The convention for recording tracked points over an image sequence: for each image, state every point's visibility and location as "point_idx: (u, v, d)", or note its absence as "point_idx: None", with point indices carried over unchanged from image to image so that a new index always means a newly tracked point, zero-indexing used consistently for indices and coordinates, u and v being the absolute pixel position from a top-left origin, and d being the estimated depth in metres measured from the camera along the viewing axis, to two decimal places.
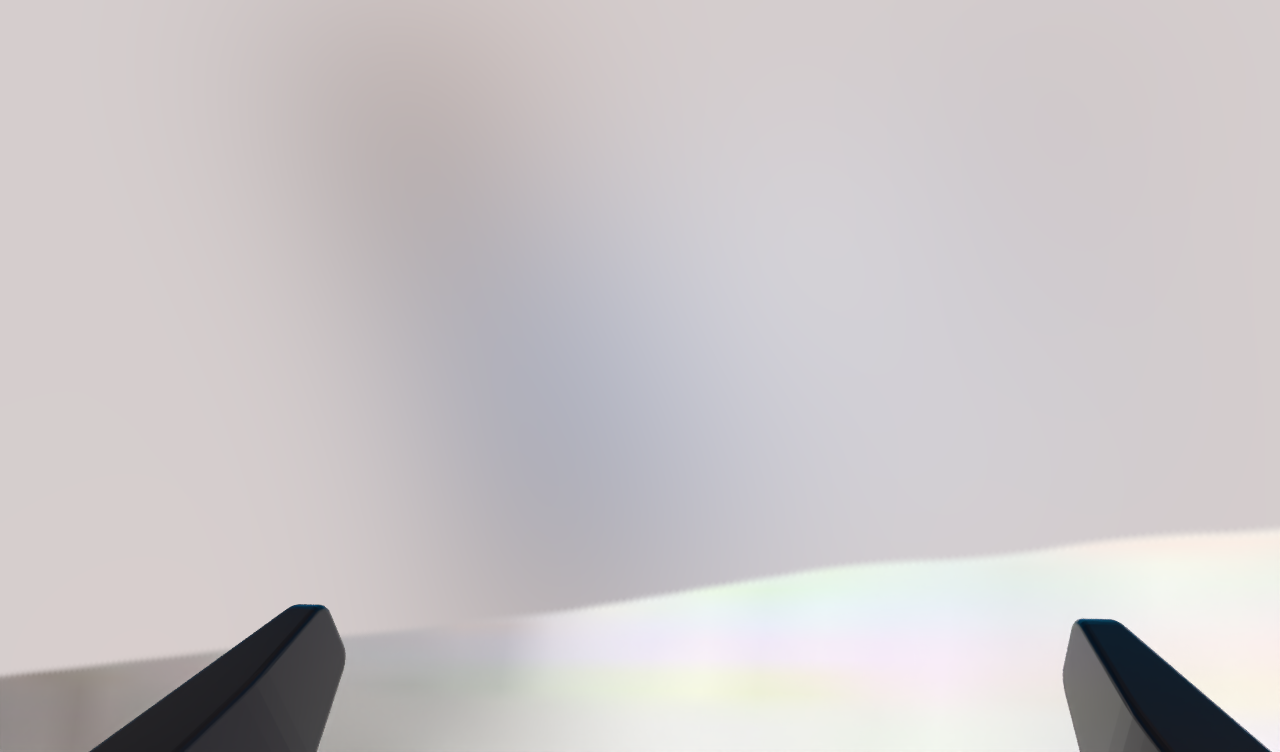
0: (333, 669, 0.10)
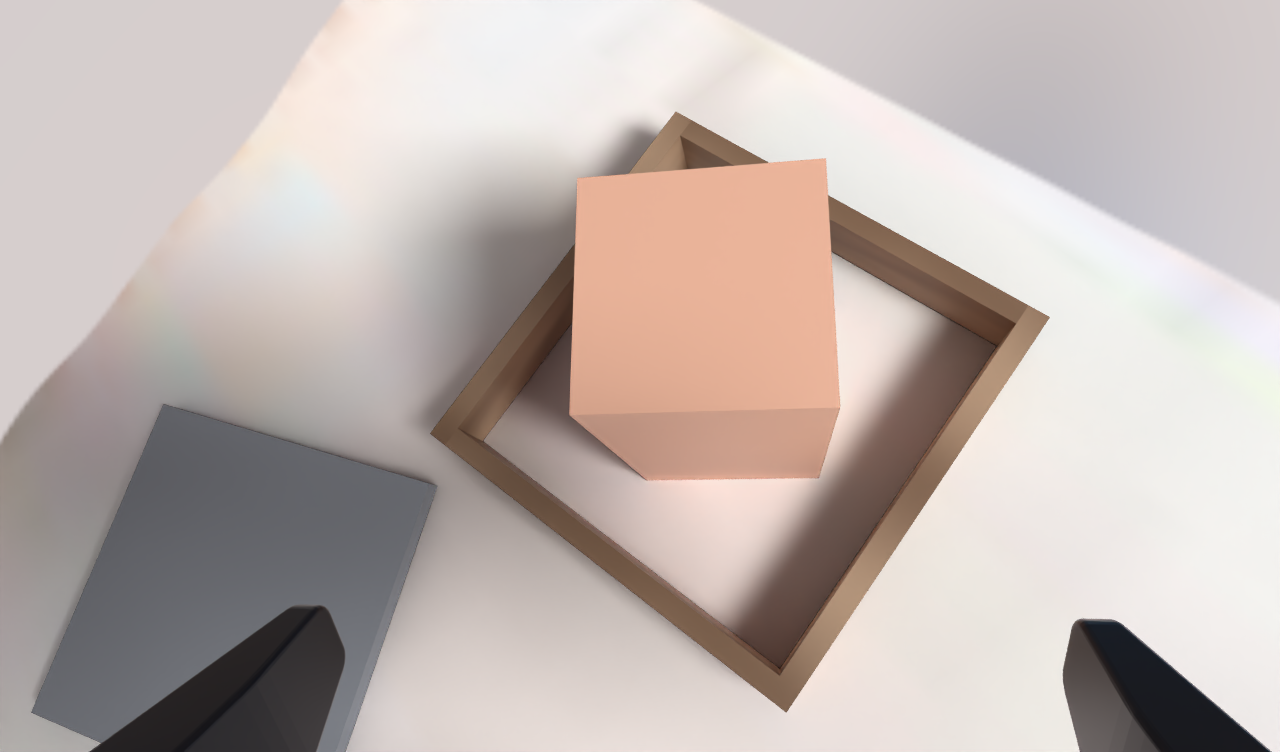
0: (333, 669, 0.10)
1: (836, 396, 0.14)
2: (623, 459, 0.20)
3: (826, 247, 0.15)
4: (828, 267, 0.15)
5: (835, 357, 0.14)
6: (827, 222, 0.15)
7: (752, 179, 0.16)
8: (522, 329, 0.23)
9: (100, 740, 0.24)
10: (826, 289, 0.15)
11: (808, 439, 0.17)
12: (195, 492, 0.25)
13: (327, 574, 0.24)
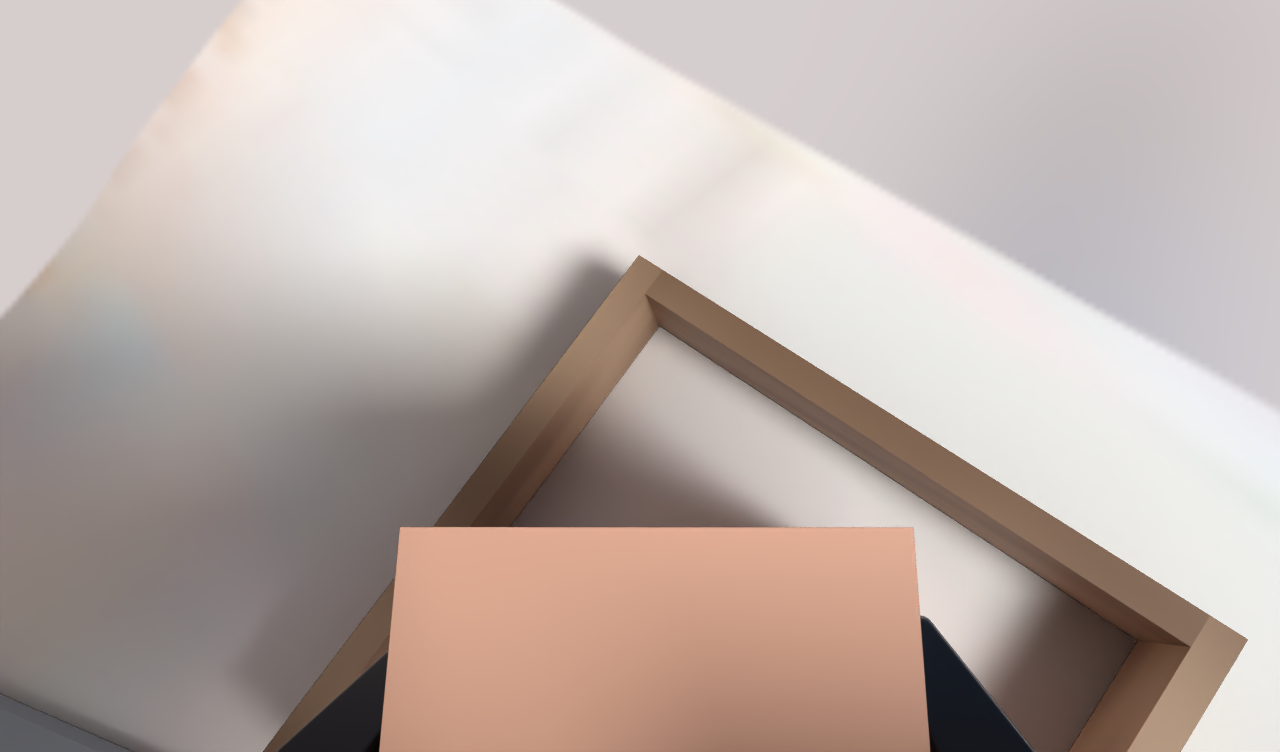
0: None
1: None
2: None
3: (920, 751, 0.07)
4: None
5: None
6: (921, 689, 0.07)
7: (755, 564, 0.07)
8: None
9: None
10: None
11: None
12: None
13: None
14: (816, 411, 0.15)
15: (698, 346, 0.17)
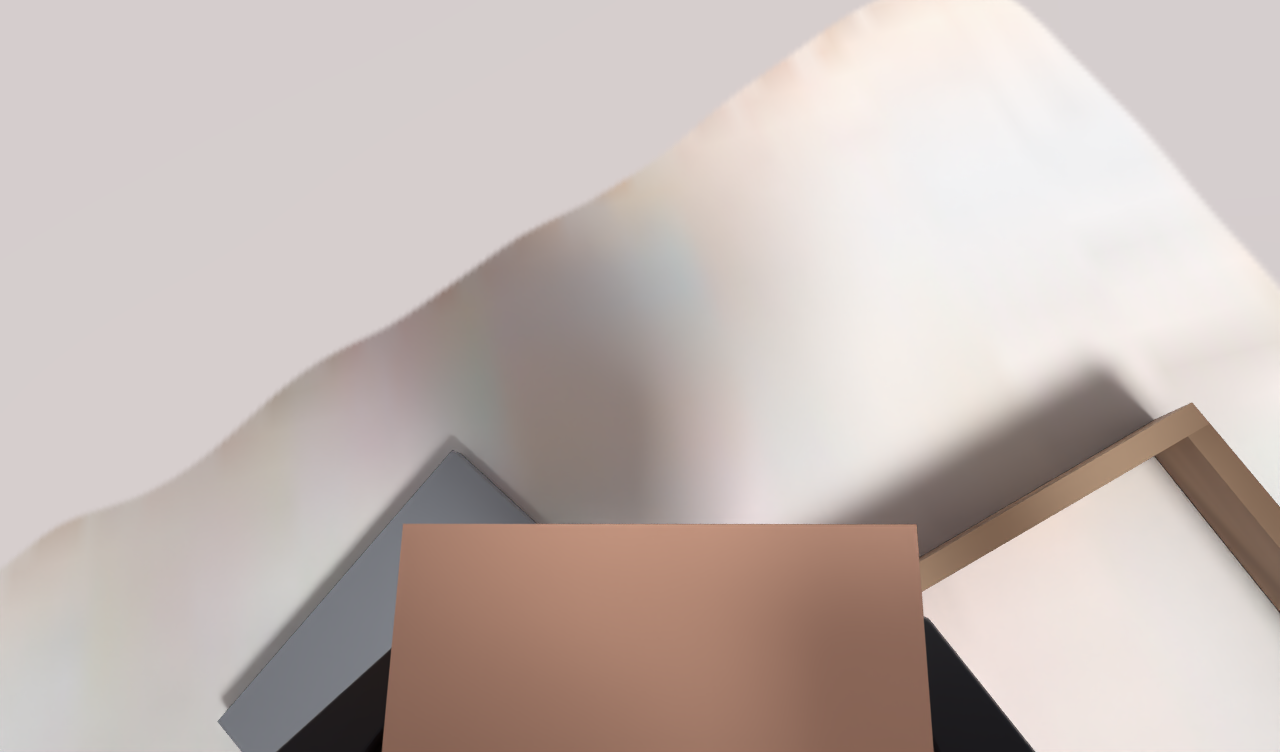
0: None
1: None
2: None
3: (923, 748, 0.07)
4: None
5: None
6: (924, 685, 0.07)
7: (758, 561, 0.07)
8: None
9: None
10: None
11: None
12: None
13: None
14: None
15: (1189, 485, 0.20)
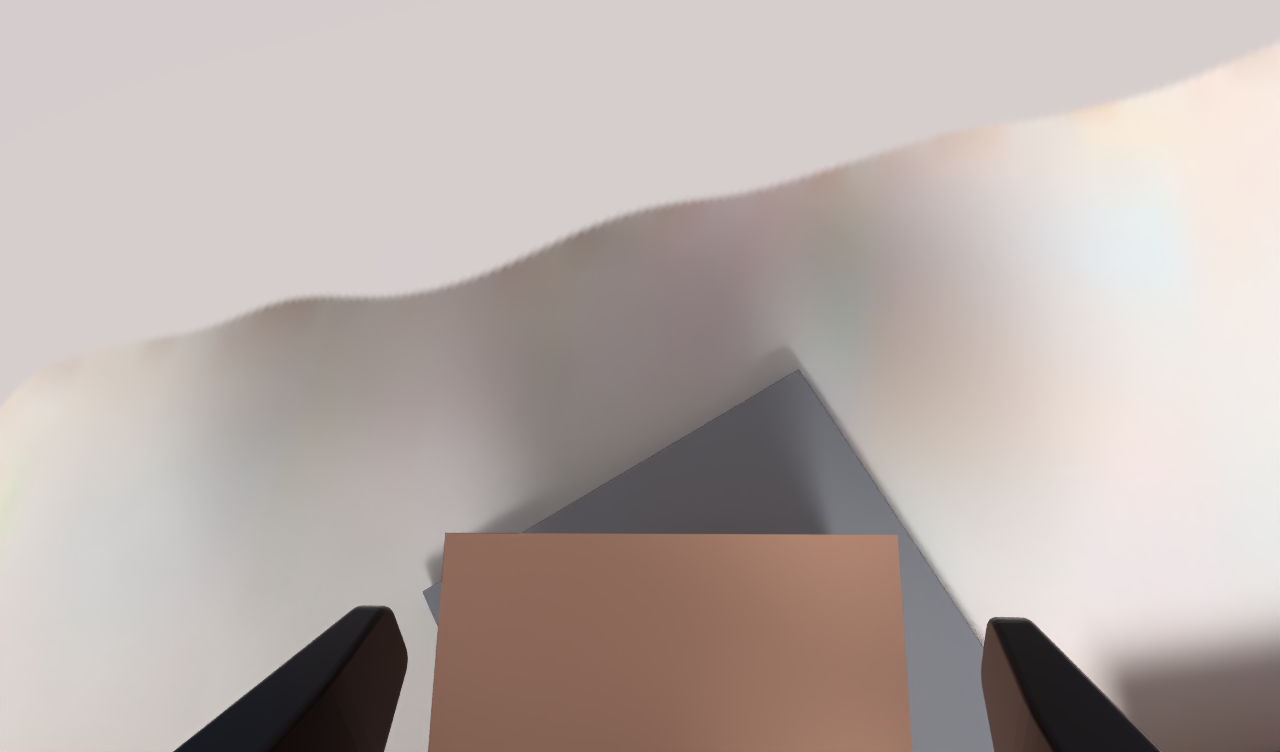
0: (397, 671, 0.10)
1: None
2: None
3: (902, 728, 0.08)
4: None
5: None
6: (903, 675, 0.08)
7: (759, 566, 0.08)
8: None
9: None
10: None
11: None
12: (766, 516, 0.17)
13: None
14: None
15: None
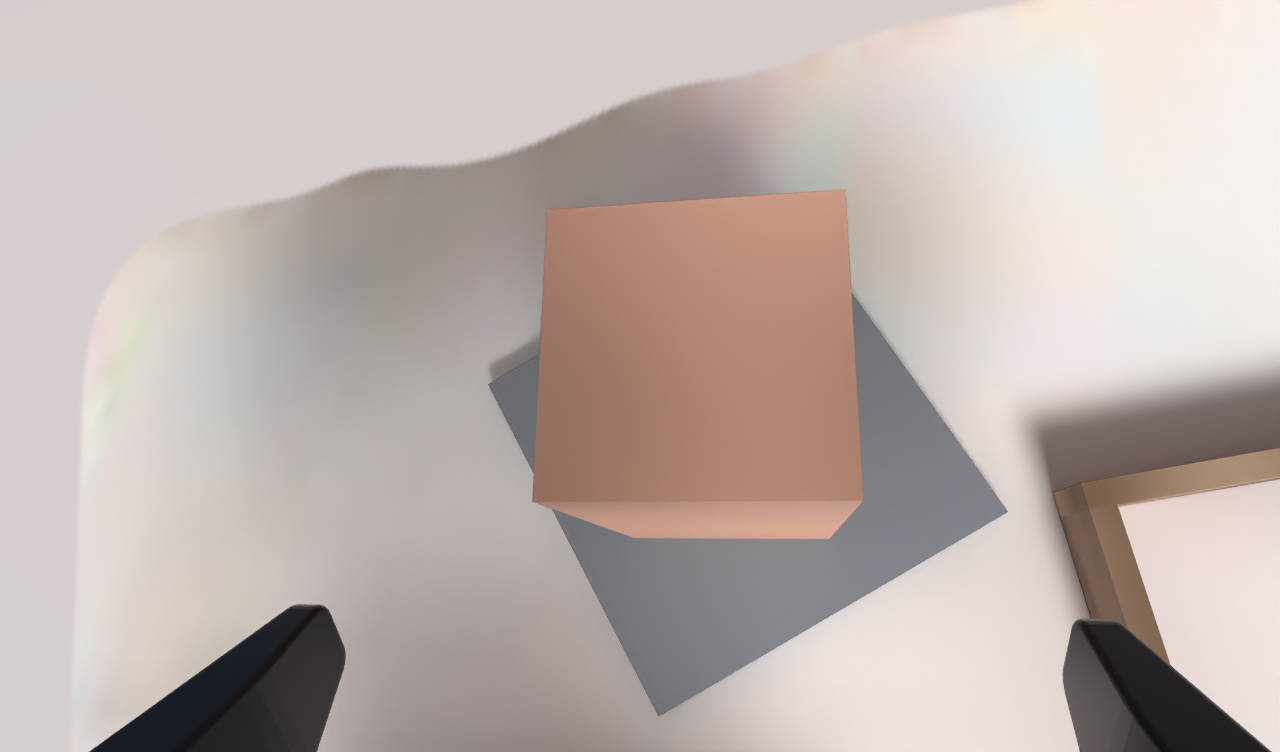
0: (333, 669, 0.10)
1: (858, 486, 0.12)
2: (605, 527, 0.17)
3: (846, 299, 0.12)
4: (848, 324, 0.12)
5: (857, 437, 0.12)
6: (847, 268, 0.12)
7: (756, 214, 0.13)
8: (1273, 464, 0.18)
9: (531, 463, 0.22)
10: (846, 351, 0.12)
11: (820, 518, 0.15)
12: None
13: None
14: None
15: None
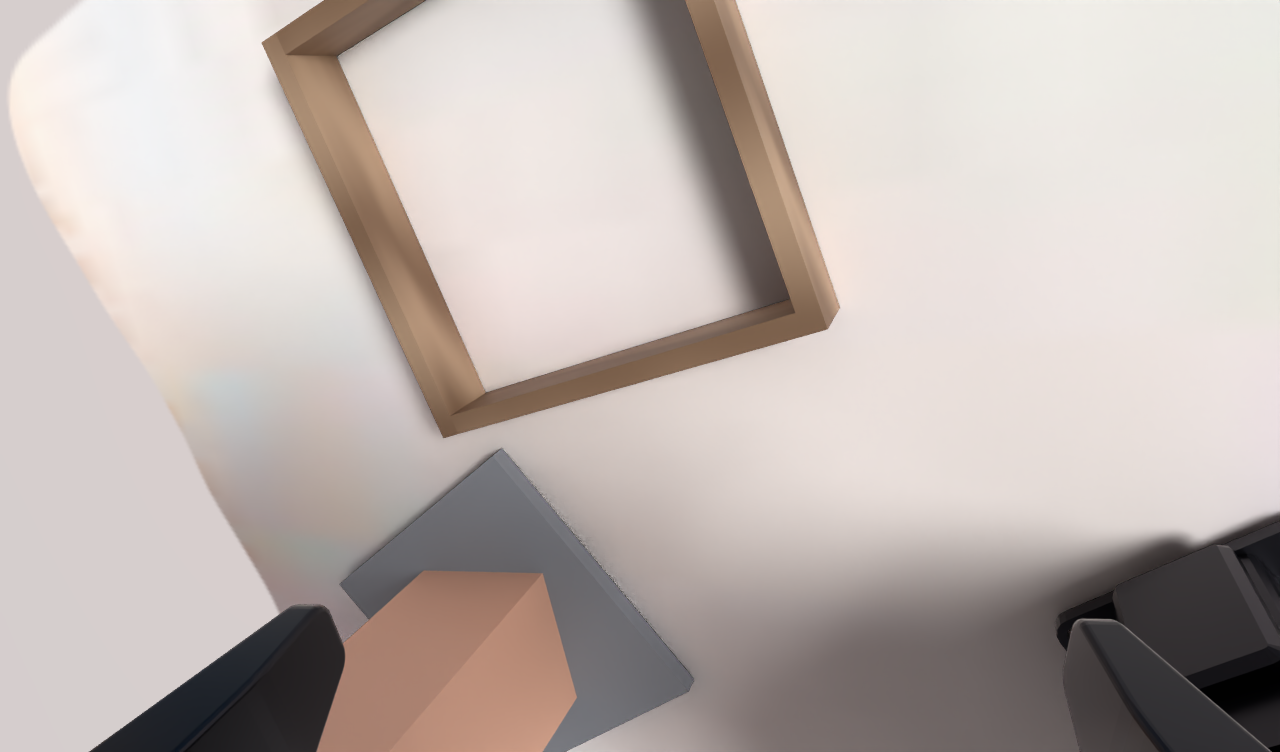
0: (333, 669, 0.10)
1: None
2: None
3: None
4: None
5: None
6: None
7: None
8: (395, 314, 0.23)
9: None
10: None
11: (442, 709, 0.22)
12: None
13: (519, 565, 0.27)
14: None
15: (352, 38, 0.23)
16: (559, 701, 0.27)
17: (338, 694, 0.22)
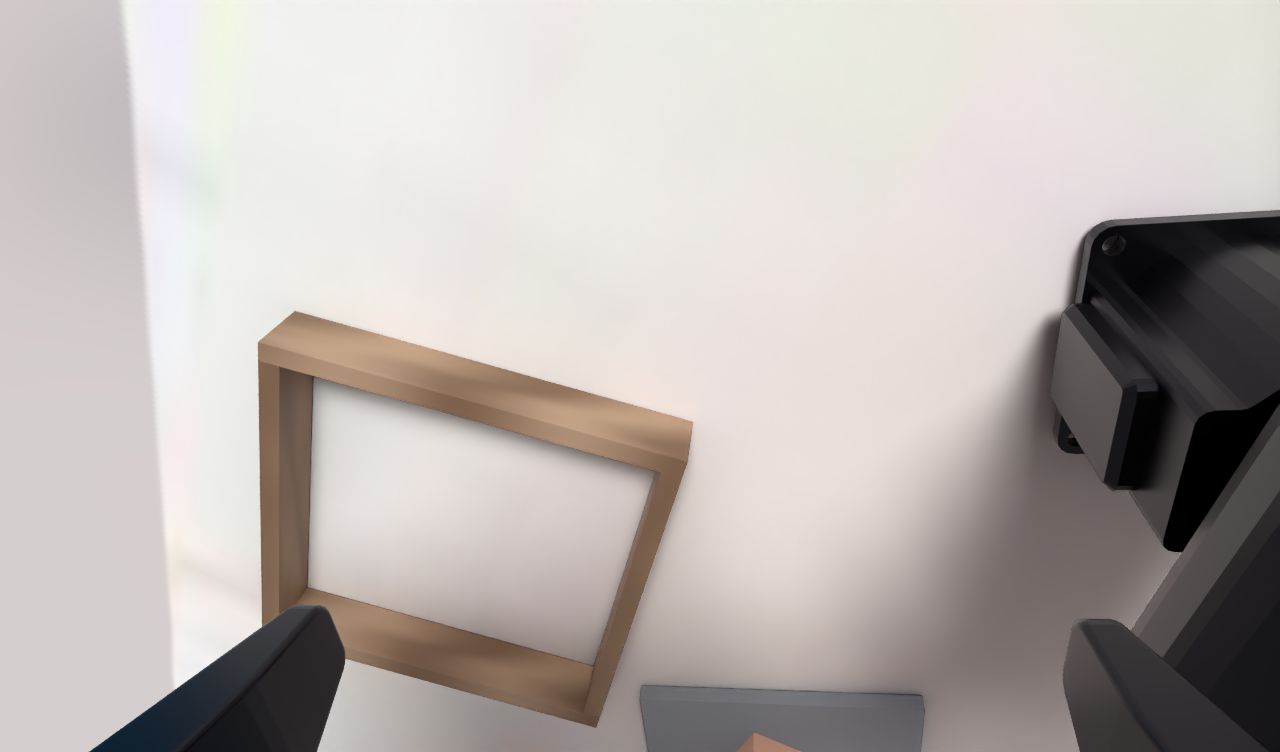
0: (333, 669, 0.10)
1: None
2: None
3: None
4: None
5: None
6: None
7: None
8: (488, 691, 0.28)
9: None
10: None
11: None
12: None
13: (736, 741, 0.30)
14: (287, 535, 0.26)
15: (301, 575, 0.28)
16: None
17: None
